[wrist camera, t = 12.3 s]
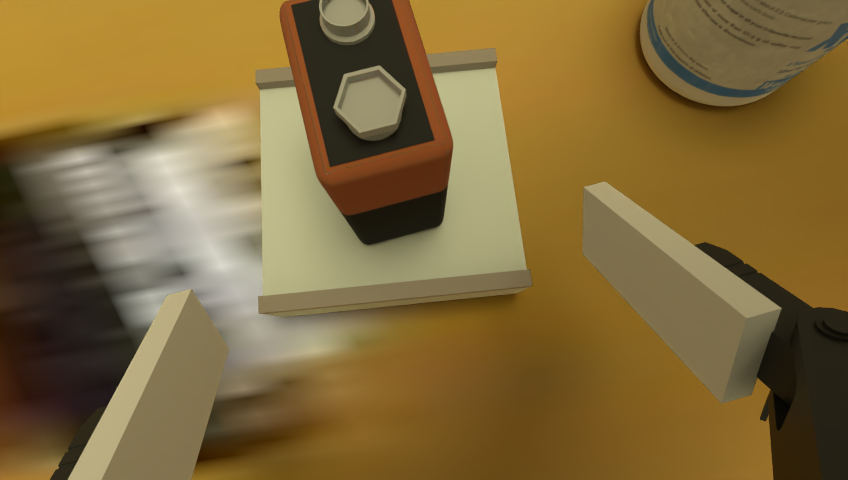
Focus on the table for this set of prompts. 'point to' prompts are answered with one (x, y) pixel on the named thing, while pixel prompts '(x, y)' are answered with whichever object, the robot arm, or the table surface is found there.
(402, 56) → the battery
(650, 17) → the supplement tub
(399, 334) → the table surface
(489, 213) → the stand
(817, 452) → the robot arm
